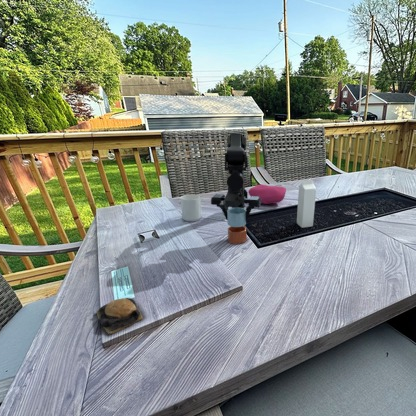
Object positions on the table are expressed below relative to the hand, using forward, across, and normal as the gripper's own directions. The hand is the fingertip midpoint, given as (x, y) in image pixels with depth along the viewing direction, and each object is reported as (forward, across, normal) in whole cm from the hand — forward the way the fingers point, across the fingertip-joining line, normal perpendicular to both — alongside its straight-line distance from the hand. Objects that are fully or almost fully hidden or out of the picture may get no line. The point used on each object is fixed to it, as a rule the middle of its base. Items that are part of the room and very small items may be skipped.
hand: (236, 220), depth 105 cm
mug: (+9, -28, +20) cm, 35 cm away
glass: (+1, 0, 0) cm, 1 cm away
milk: (+9, +28, +21) cm, 36 cm away
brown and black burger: (+9, -19, -46) cm, 50 cm away
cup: (+8, 0, 0) cm, 9 cm away
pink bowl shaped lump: (+9, +6, +52) cm, 53 cm away
